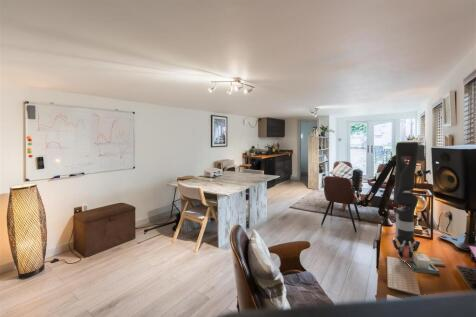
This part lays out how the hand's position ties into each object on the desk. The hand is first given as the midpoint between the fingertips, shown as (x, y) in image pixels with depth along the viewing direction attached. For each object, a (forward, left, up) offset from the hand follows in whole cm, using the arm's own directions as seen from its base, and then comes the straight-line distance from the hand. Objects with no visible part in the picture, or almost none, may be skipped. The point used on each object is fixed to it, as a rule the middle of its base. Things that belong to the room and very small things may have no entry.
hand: (405, 257), depth 132 cm
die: (+7, +5, 0) cm, 8 cm away
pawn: (0, 0, -1) cm, 1 cm away
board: (0, +7, -2) cm, 8 cm away
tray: (+9, +4, -2) cm, 10 cm away
